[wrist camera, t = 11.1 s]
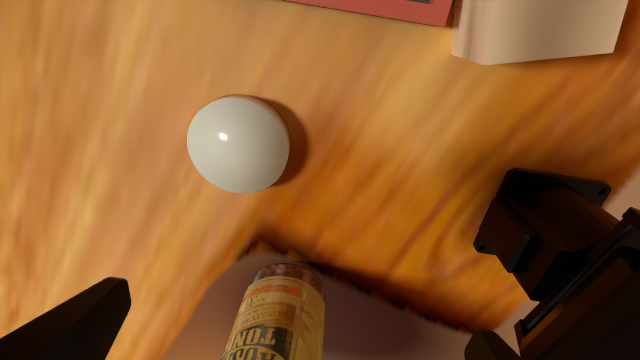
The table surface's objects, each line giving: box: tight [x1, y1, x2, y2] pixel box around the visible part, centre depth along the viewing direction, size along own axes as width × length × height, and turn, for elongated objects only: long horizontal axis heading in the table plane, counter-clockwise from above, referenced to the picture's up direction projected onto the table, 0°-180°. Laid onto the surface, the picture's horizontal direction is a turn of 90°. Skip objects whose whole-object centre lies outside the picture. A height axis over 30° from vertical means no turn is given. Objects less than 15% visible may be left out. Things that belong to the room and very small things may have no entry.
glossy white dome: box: [187, 94, 290, 193], centre depth 20 cm, size 6×6×2 cm
